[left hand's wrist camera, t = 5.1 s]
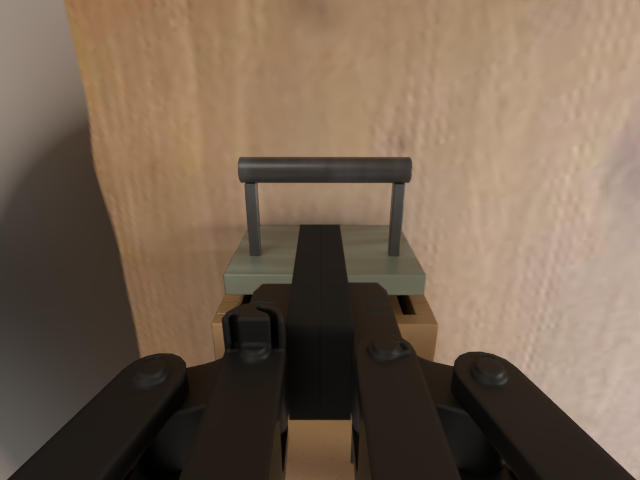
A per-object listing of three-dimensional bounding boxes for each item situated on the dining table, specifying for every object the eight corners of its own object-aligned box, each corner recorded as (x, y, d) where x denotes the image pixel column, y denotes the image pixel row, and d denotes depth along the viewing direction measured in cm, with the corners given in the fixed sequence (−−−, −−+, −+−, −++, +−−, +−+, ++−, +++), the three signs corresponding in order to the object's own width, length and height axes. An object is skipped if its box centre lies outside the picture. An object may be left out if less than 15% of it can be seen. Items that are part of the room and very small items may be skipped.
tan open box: (245, 249, 28) (210, 323, 19) (402, 250, 28) (439, 324, 19) (261, 441, 35) (240, 559, 26) (386, 442, 35) (407, 561, 26)
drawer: (243, 143, 24) (211, 166, 17) (405, 143, 24) (439, 166, 17) (263, 420, 33) (247, 511, 26) (383, 421, 33) (399, 512, 26)
